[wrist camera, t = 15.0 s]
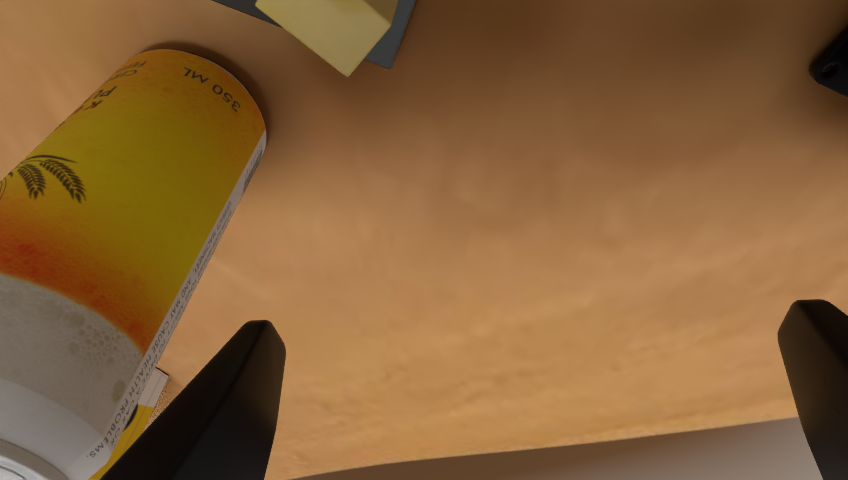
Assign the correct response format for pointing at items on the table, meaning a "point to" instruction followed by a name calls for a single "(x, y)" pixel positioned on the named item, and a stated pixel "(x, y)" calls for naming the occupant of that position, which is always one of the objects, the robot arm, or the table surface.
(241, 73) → the table surface
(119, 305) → the beer can
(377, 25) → the cheese
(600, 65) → the table surface
